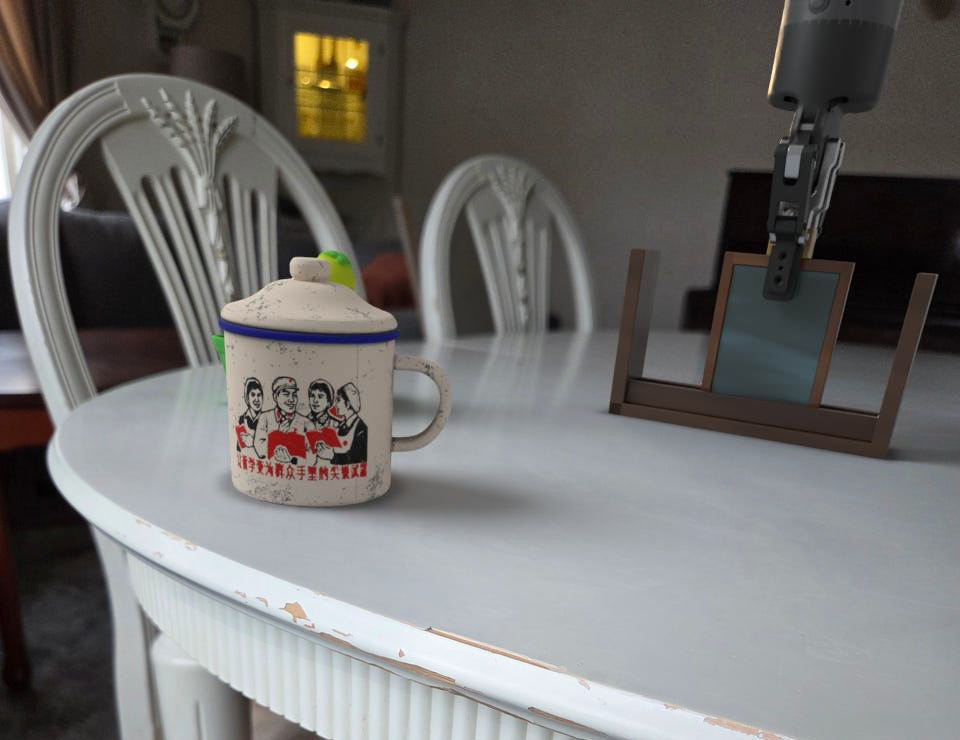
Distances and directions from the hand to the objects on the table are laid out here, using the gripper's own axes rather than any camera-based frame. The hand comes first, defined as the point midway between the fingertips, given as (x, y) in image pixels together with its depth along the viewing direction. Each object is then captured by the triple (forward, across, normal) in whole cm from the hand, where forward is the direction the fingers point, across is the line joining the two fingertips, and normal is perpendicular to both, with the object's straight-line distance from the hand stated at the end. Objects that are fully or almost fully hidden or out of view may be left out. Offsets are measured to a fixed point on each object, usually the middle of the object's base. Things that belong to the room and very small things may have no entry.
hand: (780, 298), depth 65 cm
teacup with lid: (+11, -35, +16) cm, 40 cm away
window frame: (+10, 0, +1) cm, 10 cm away
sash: (+9, 0, 0) cm, 9 cm away
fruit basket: (+11, -18, +32) cm, 38 cm away
